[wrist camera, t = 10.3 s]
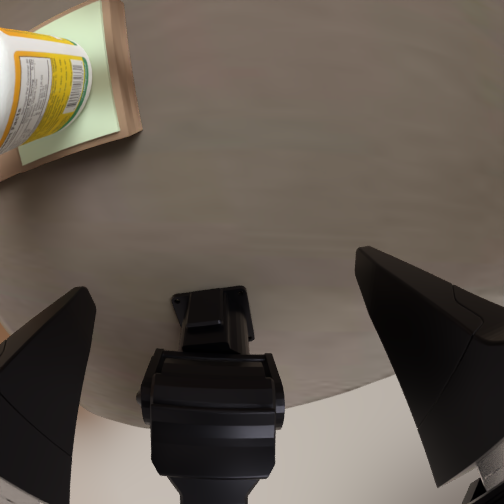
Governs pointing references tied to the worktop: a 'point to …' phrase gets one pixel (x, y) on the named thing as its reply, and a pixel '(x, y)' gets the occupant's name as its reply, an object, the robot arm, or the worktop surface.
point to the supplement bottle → (39, 85)
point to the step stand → (102, 89)
